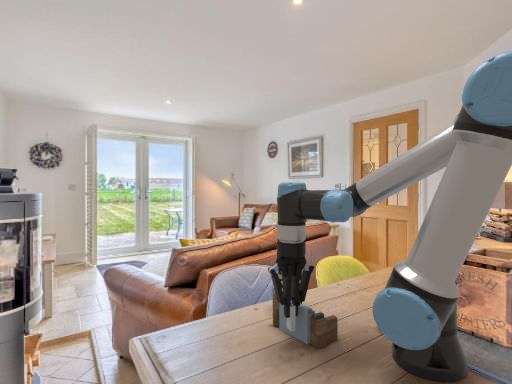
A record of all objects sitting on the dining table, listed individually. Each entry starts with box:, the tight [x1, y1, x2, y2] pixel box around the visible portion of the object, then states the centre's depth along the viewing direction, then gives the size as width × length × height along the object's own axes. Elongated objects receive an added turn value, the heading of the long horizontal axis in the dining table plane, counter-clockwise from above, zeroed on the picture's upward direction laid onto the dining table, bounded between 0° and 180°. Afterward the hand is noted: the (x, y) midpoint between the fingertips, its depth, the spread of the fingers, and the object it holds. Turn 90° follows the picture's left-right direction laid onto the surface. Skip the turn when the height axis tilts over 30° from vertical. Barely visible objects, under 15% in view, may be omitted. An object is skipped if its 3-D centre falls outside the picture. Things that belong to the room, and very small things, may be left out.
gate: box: [278, 301, 316, 345], centre depth 83 cm, size 12×2×9 cm, turn 37°
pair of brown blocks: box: [272, 287, 339, 349], centre depth 85 cm, size 17×10×11 cm, turn 31°
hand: (290, 328), depth 80 cm, fingers closed
